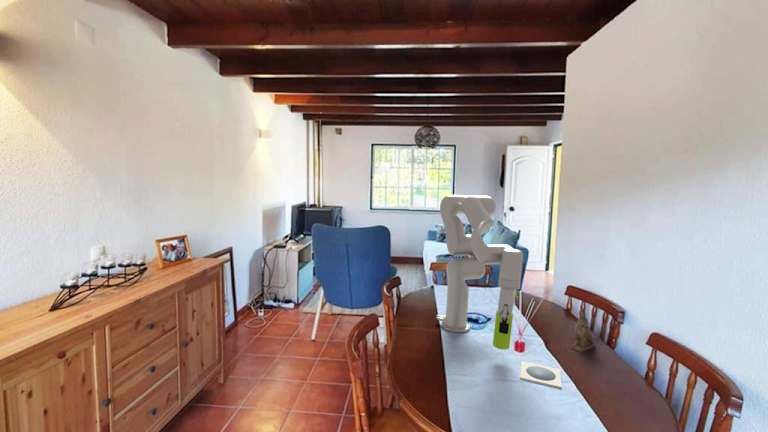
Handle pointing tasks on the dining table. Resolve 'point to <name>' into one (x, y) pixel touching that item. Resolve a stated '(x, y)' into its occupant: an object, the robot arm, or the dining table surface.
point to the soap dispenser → (500, 338)
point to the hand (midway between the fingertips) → (504, 329)
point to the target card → (541, 374)
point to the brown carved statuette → (582, 334)
